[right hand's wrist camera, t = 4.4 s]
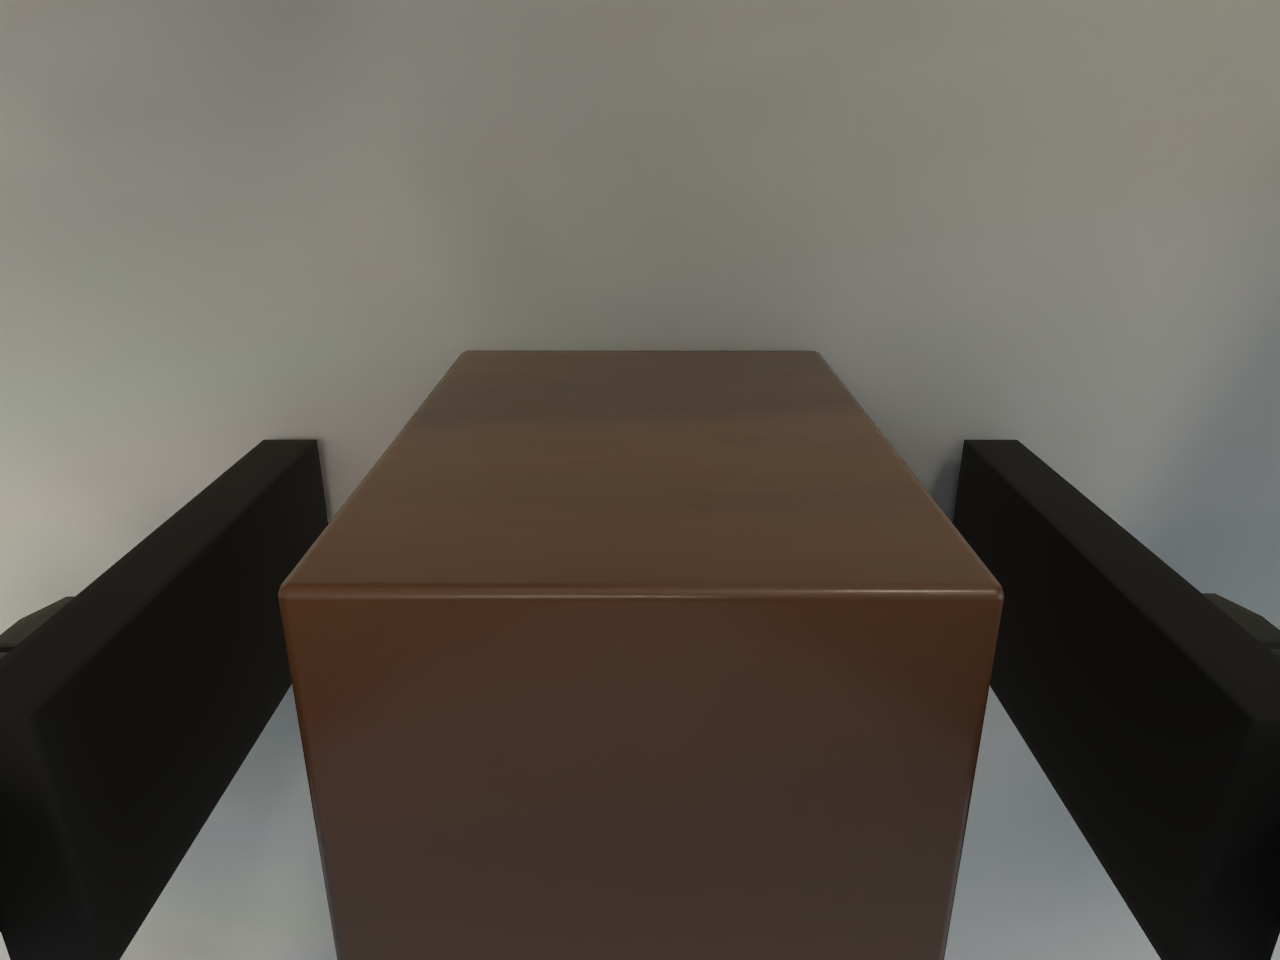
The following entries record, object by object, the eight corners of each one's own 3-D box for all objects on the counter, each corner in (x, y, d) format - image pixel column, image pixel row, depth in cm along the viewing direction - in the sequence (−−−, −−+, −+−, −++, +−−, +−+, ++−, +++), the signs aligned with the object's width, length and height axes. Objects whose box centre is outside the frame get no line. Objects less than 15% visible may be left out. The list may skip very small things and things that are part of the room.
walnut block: (461, 348, 13) (270, 588, 6) (820, 349, 13) (1012, 588, 6) (483, 658, 14) (354, 1095, 8) (797, 658, 14) (925, 1095, 8)
